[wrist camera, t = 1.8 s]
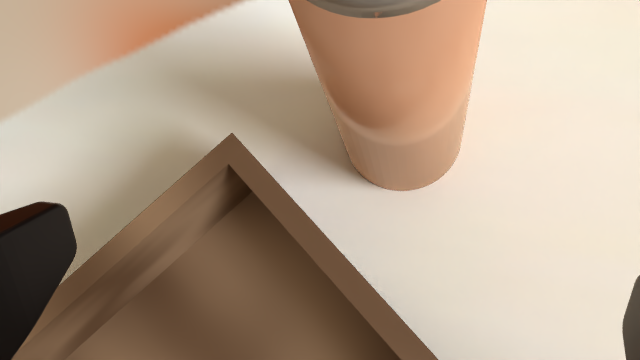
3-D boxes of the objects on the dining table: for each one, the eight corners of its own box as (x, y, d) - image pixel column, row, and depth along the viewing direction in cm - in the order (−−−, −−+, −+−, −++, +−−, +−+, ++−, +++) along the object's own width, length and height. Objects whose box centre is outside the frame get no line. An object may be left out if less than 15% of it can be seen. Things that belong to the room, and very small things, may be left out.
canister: (400, 214, 22) (370, 42, 10) (322, 135, 23) (210, -102, 11) (486, 135, 22) (565, -131, 10) (404, 62, 24) (383, -248, 11)
